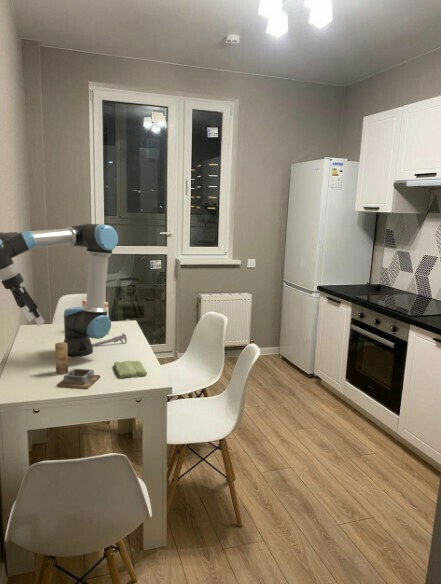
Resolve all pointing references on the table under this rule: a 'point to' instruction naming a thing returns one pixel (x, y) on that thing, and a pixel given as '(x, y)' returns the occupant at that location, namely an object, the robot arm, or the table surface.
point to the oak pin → (61, 358)
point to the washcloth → (129, 369)
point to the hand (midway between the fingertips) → (36, 322)
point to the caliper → (112, 340)
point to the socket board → (79, 379)
